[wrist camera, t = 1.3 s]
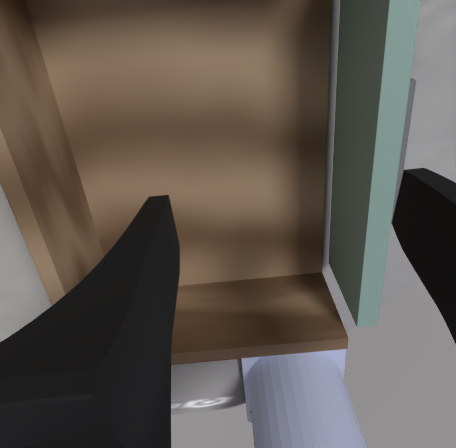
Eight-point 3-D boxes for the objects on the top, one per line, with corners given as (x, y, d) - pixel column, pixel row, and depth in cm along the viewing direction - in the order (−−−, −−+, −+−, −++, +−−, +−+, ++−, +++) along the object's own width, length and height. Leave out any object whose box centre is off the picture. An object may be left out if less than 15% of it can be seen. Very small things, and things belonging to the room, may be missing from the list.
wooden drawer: (316, 268, 26) (347, 348, 20) (111, 287, 26) (80, 372, 20) (325, -117, 16) (393, -189, 10) (-4, -80, 16) (-131, -128, 10)
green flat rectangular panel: (352, 260, 24) (387, 324, 19) (328, 262, 24) (357, 327, 19) (381, -84, 16) (455, -122, 11) (344, -80, 16) (401, -116, 11)
